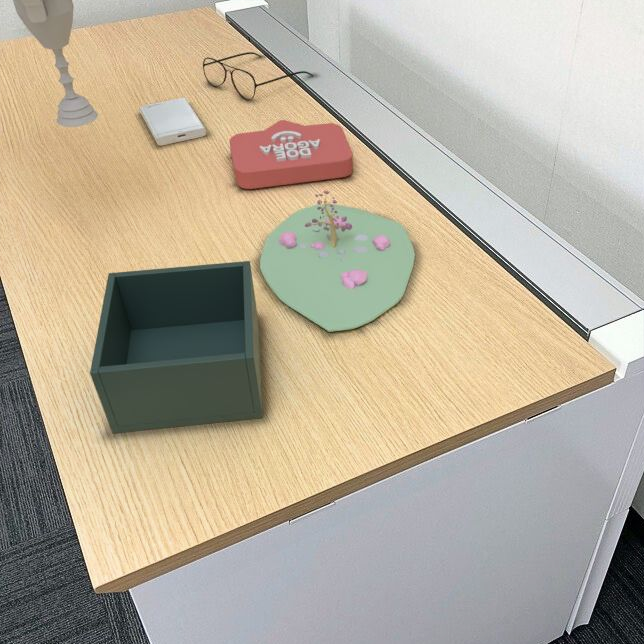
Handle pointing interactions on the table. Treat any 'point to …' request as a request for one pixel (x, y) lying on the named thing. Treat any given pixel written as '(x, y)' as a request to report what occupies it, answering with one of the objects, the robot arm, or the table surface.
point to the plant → (338, 264)
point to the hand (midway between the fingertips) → (45, 9)
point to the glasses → (244, 71)
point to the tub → (178, 347)
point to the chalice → (60, 58)
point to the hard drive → (172, 121)
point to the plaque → (290, 154)
